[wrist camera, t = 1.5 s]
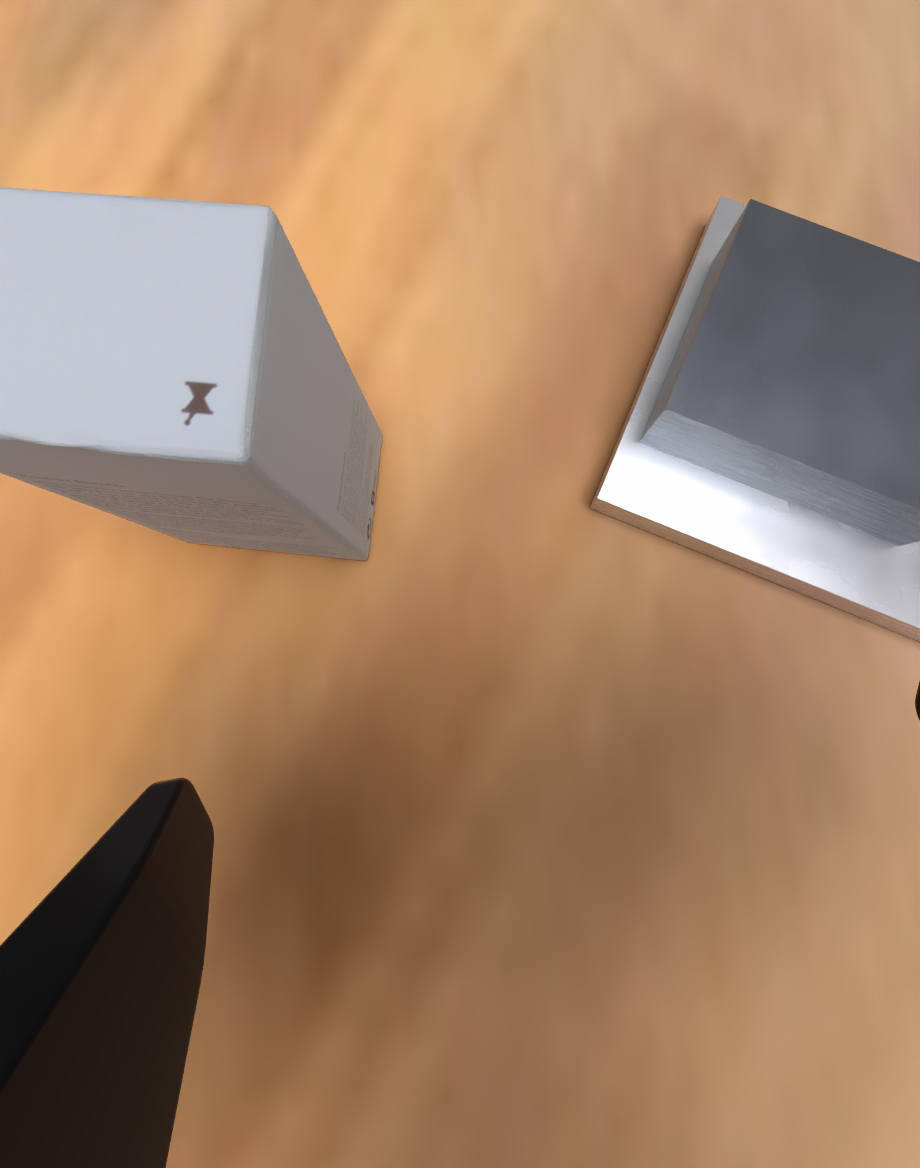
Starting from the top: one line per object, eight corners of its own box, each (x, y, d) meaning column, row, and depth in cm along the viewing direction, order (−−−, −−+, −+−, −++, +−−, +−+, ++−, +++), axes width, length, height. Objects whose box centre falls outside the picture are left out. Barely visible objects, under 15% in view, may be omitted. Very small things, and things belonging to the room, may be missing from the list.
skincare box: (385, 431, 23) (286, 199, 11) (370, 563, 23) (251, 472, 11) (198, 413, 23) (-97, 166, 11) (180, 544, 23) (-145, 432, 11)
